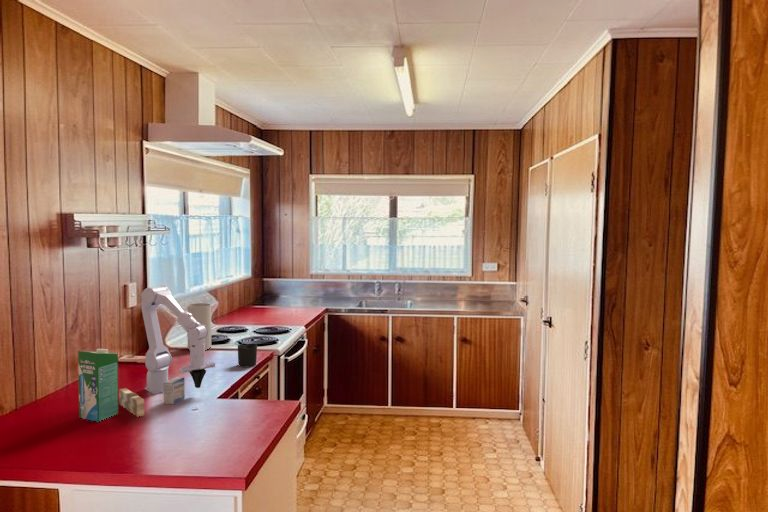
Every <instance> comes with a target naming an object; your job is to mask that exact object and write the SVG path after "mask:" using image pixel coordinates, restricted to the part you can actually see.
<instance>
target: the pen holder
mask: <svg viewBox="0 0 768 512" xmlns="http://www.w3.org/2000/svg"><path fill="white" fill-rule="evenodd" d="M257 355H258V345H257V344H256V343H249V344H238V345H237V358H238V359H237V360H238V361H237V363H238V364H239V365H240V366H252V367H254V366H253V365H255V366H256V365H257V359H258V357H257ZM239 365H238V366H239ZM240 366H239V367H240Z"/></svg>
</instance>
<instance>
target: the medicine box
mask: <svg viewBox="0 0 768 512" xmlns="http://www.w3.org/2000/svg"><path fill="white" fill-rule="evenodd" d="M162 393H163V404H164V405H165V404H166V405H175V404H177V403H178V402H180V401H181V400H184V399H185V398H186V397H185V396H186V395H185V377H183V376H182V377H181V376H174V377H173V378H171V379H168V381H166V382H164V383H163V392H162Z"/></svg>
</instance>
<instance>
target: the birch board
mask: <svg viewBox="0 0 768 512" xmlns="http://www.w3.org/2000/svg"><path fill="white" fill-rule="evenodd" d="M118 403H119V405H120V406H121V407H122V406H123V407H122V408H124V409H125V408H126V409H125V410H127V411H128V412H130V413H131V414H132V413H133V415H134V416H135V415H136V416H135V417H137V418H139V416H140V417H144V416H145V399H144V398H142V397H141V396H139V394H137V392H133V391H131V390H129V389H128V388H127V387H124V388H118Z"/></svg>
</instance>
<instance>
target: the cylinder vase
mask: <svg viewBox="0 0 768 512" xmlns="http://www.w3.org/2000/svg"><path fill="white" fill-rule="evenodd" d="M187 312H189V313H191V314H192V316H193V317H194V319H195V320H196V321H197V322H199V323H200V324H203V325H205V326H206V328H207V330H208V335H207V336H206V337H205V350H206V351H208V350H207V349H209V348H210V347H211V348H212V304H211V303H207V302H204V303H203V302H196V303H189V304H187ZM211 348H210V349H211ZM188 349H189V350H188ZM210 349H209V350H210ZM187 350H188V351H190V343H189V339H188V338H187Z"/></svg>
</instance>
